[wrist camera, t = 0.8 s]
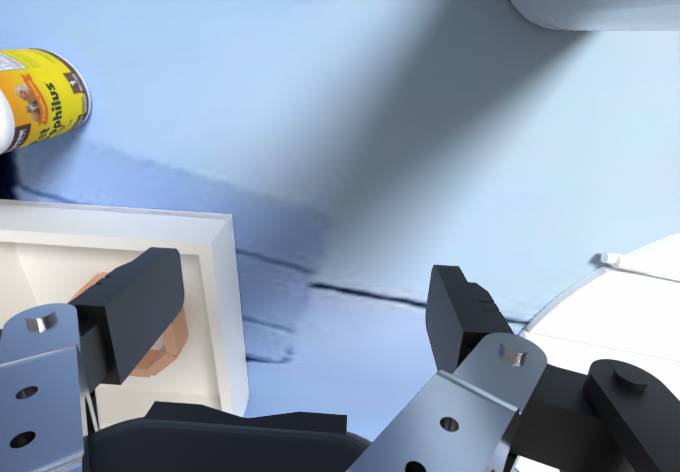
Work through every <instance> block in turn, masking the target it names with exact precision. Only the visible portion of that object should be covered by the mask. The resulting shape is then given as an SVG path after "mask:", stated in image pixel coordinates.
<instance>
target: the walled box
mask: <svg viewBox="0 0 680 472" xmlns="http://www.w3.org/2000/svg"><path fill="white" fill-rule="evenodd" d="M150 247H161V248H176V249H177V250H178V251H179V253H180V258H181V267H182V275H183V284H184V293H185V297H184V303H183V307H182V309H181V311H180V313H179V314H178V315H177V316H176V318H175V319H174V320H173V321H172V323H171V324H170V325H169V326H168V328H167V329H166V330H165V331H164V332H163V334H162V335H161V336H160V337H159V339H158V340H157V341H156V342H155V344H154V345H153V346H152V347H151V349H150V350H149V351H148V352H147V353H146V355H145V356H144V357H143V358H142V360H141V361H140V362H139V363H138V365H137V366H136V367H135V368H134V370H133V371H132V372H131V373H130V375H129V376H128V377H127V378H126V379H125V381H124V382H123V383H122V384H121V385H111V384H99V385H98V386H97V387H96V389H95V390H96V394H97V399H98V406H99V414H100V421H101V429H103V428H106V427H108V426H111V425H113V424H116V423H119V422H123V421H126V420H130V419H135V418H139V417H145V415H146V414H147V412H148V411H149V409H150V408H151V406H152V405H153V403H154V402H155V401H162V402H175V403H189V404H202V405H205V406H208V407H211V408H214V409H218V410H221V411H224V412H227V413H230V414H233V415H236V416H240V417H243V416H244V412H245V409H246V406H247V403H248V400H249V386H248V376H247V365H246V355H245V344H244V334H243V323H242V313H241V302H240V292H239V281H238V271H237V260H236V249H235V239H234V228H233V218H232V214H222V213H207V212H191V211H176V210H160V209H145V208H129V207H114V206H99V205H83V204H68V203H52V202H37V201H21V200H6V199H0V329H3V327H4V324H5V323H6V322H7V321H8V320H9V319H10V318H12V317H13V316H15V315H16V314H18V313H20V312H22V311H25V310H27V309H30V308H33V307H36V306H40V305H45V304H52V303H65V304H67V303H69V302H70V301H72V300H73V299H74V298H76V297H77V296H78V295H80V294H81V293H82V292H84V291H85V290H87V289H88V288H89V287H91V286H92V285H95V284H96V282H97V281H99V280H100V279H101V278H105V276H106V275H107V274H108V273H110V272H111V271H112V270H114V269H115V268H117V267H119V266H121V265H124V264H126V263H129V262H131V261H133V260H134V259H135V258H137V257H138V256H139V255H141V254H142V253H143V252H145V251H146V250H147V249H149V248H150Z"/></svg>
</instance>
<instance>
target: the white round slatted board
mask: <svg viewBox="0 0 680 472" xmlns="http://www.w3.org/2000/svg"><path fill="white" fill-rule="evenodd" d="M601 261H602V262H603V263H607V264H610V265H611V266H612V267H614V268H617V269H614V268H609V267H604V266H602V267H600V268H598V269H597V270H595V271H593V272H592V273H590V274H589V275H587V276H585V277H584V278H582V279H581V280H579V281H578V282H576V283H575V284H573V285H572V286H571V287H569V288H568V289H566V290H565V291H564V292H562V293H561V294H560V295H559V296H557V297H556V298H555V299H554V300H553V301H551V302H550V303H549V304H548V305H547V306H546V307H544V308H543V309H542V310H541V311H540V312H539V313H538V314H537V315H536V316H535V317H534V318H533V319H532V320H531V321H530V322H529V323H528V325H527V326H526V327H527V329H528V330H529V331H528V330H522V332H521V333H520V334H519V335H518V336H520V337H523V338H525V339H528V340H529V341H531V342H533V343H534V344H536V345H537V346H538V347H540V348H541V349H542V350H543V351H544V353H545V354H546V356H547V361H548V362H547V363H548V364H550V365H553V366H556V367H559V368H563V369H567V370H571V371H574V372H578V373H582V374H586V375H587V374H588V371H589V368H590V365H591V364H592V363H593V362H594V361H596V360H599V359H613V360H619V361H623V362H626V363H629V364H632V365H634V366H637V367H639V368H641V369H643V370H645V371H647V372H649V373H650V374H652V375H653V376H655V377H656V378H658V379H659V380H660V381H661V382H662V383H663V384H664V385H665V386H666V387H667V388H668V389H669V390H670V391H671V392H672V393H673V394H674V395H675V396H676V397H677V398H678V399H679V400H680V282H678V281H680V233H678V234H675V235H672V236H669V237H666V238H663V239H660V240H658V241H655V242H653V243H650V244H648V245H645V246H643V247H640V248H638V249H636V250H634V251H631V252H629V253H627V254H625V255H621V254H611V253H606V252H605V253H603V254H602V255H601ZM619 269H622V270H619ZM624 270H627V271H624ZM629 271H632V272H629ZM634 272H637V273H634ZM639 273H642V274H639ZM644 274H647V275H644ZM648 275H652V276H648ZM653 276H656V277H653ZM658 277H661V278H658ZM663 278H666V279H663ZM668 279H671V280H668ZM673 280H676V281H673ZM515 468H516V469H517V470H518V471H519V472H560V471H559V469H556V468H553V467H550V466H547V465H545V464H542V463H539V462H536V461H533V460H530V459H527V458H525V457H522V456H520V458H519V460H518V462H517V465H516V467H515Z"/></svg>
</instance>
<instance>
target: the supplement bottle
mask: <svg viewBox="0 0 680 472" xmlns="http://www.w3.org/2000/svg"><path fill="white" fill-rule="evenodd" d="M90 109H91V97H90V92H89V89H88V86H87V84H86V82H85V80H84V78H83V77H82V75H81V74H80V72H79V71H78V70H77V69H76V68H75V67H74V66H73V65H72V64H71V63H70V62H69V61H68V60H66V59H65V58H63V57H62V56H60V55H58V54H56V53H54V52H51V51H48V50H44V49H32V48H30V49H14V50H0V155H1V154H3V153H7V152H10V151H12V150H16V149H18V148H21V147H24V146H27V145H30V144H33V143H36V142H39V141H42V140H45V139H48V138H51V137H54V136H57V135H60V134H63V133H66V132H69V131H72V130H74V129H76V128H78V127H80V126H81V125H82V124H83V123H84V122H85V121H86V119H87V118H88V116H89V113H90Z"/></svg>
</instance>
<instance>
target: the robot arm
mask: <svg viewBox="0 0 680 472" xmlns="http://www.w3.org/2000/svg"><path fill="white" fill-rule="evenodd" d="M510 1H511V2H512V4H513V5H514V7H515V8H516V10H517V11H518V12H519V13H520V14H521V15H522V16H524V17H525V18H526V19H527V20H528V21H530V22H532V23H534V24H536V25H538V26H540V27H543V28H548V29H553V30H563V31H583V30H584V31H587V30H606V31H680V0H510ZM184 297H185V293H184V284H183V275H182V267H181V258H180V253H179V251H178V250H177V249H176V248H161V247H150V248H149V249H147V250H146V251H145V252H143V253H142V254H141V255H139V256H138V257H137V258H135V259H134V260H133V261H131V262H129V263H126V264H124V265H121V266H119V267H117V268H115V269H114V270H112V271H111V272H110V273H108V274H107V275H106V276H105V278H101V279H100V280H99V281H97V282H96V284H95V285H92V286H91V287H89V288H88V289H87V290H85V291H84V292H82V293H81V294H80V295H78V296H77V297H76V298H74V299H73V300H72V301H70V302H69V303H67V304H65V303H52V304H45V305H40V306H36V307H33V308H30V309H27V310H25V311H22V312H20V313H18V314H16V315H15V316H13V317H12V318H10V319H9V320H8V321H7V322H6V323H5V324H4V327H3V329H0V472H513V471H514V469H515V467H516V465H517V462H518V460H519V458H520V456H522V457H525V458H527V459H530V460H533V461H536V462H539V463H542V464H545V465H547V466H550V467H553V468H556V469H559V471H560V472H680V400H679V399H678V398H677V397H676V396H675V395H674V394H673V393H672V392H671V391H670V390H669V389H668V388H667V387H666V386H665V385H664V384H663V383H662V382H661V381H660V380H659V379H658V378H656V377H655V376H653V375H652V374H650V373H649V372H647V371H645V370H643V369H641V368H639V367H637V366H634V365H632V364H629V363H626V362H623V361H619V360H613V359H599V360H596V361H594V362H593V363H592V364H591V365H590V368H589V371H588V374H587V375H586V374H582V373H578V372H574V371H571V370H567V369H563V368H559V367H556V366H553V365H550V364H548V363H547V362H548V361H547V356H546V354H545V353H544V351H543V350H542V349H541V348H540V347H538V346H537V345H536V344H534V343H533V342H531V341H529V340H528V339H525V338H523V337H520V336H518V335H515V334H514V333H513V331H512V330H511V328H510V326H509V325H508V323H507V322H506V320H505V318H504V317H503V315H502V313H501V312H499V309H498V307H497V305H496V304H494V301H493V299H492V297H491V296H490V294H489V292H488V291H486V290H485V289H484V288H482V287H481V286H479V285H478V284H477V283H471V282H467V280H466V278H465V276H464V275H463V273H462V271H461V269H460V267H459V266H446V265H434V266H433V268H432V272H431V279H430V286H429V293H428V299H427V306H426V329H427V333H428V336H429V340H430V344H431V348H432V351H433V355H434V359H435V362H436V366H437V370H438V372H437V373H436V374H435V375H434V376H433V377H432V378H431V379H430V380H429V381H428V382H427V384H426V385H425V386H424V387H423V388H422V389H421V390H420V391H419V392H418V393H417V394H416V396H415V397H414V398H413V399H412V400H411V401H410V402H409V403H408V404H407V405H406V406H405V408H404V409H403V410H402V411H401V412H400V413H399V414H398V415H397V416H396V417H395V418H394V420H393V421H392V422H391V423H390V424H389V425H388V426H387V427H386V428H385V429H384V430H383V432H382V433H381V434H380V435H379V436H378V437H377V438H376V439H375V440H374V441H373V442H370V441H369V440H367V439H365V438H363V437H360V436H358V435H356V434H353V433H350V432H347V431H346V427H347V415H336V414H322V413H309V412H294V413H286V414H278V415H271V416H263V417H256V418H243V417H240V416H236V415H233V414H230V413H227V412H224V411H221V410H218V409H214V408H211V407H208V406H205V405H202V404H189V403H175V402H162V401H155V402H154V403H153V405H152V406H151V408H150V409H149V411H148V412H147V414H146V415H145V417H139V418H135V419H130V420H126V421H123V422H119V423H116V424H113V425H111V426H108V427H106V428H103V429H101V421H100V414H99V406H98V399H97V394H96V390H95V389H96V387H97V386H98V385H99V384H111V385H121V384H122V383H123V382H124V381H125V379H126V378H127V377H128V376H129V375H130V373H131V372H132V371H133V370H134V368H135V367H136V366H137V365H138V363H139V362H140V361H141V360H142V358H143V357H144V356H145V355H146V353H147V352H148V351H149V350H150V349H151V347H152V346H153V345H154V344H155V342H156V341H157V340H158V339H159V337H160V336H161V335H162V334H163V332H164V331H165V330H166V329H167V328H168V326H169V325H170V324H171V323H172V321H173V320H174V319H175V318H176V316H177V315H178V314H179V313H180V311H181V309H182V307H183V303H184Z"/></svg>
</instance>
